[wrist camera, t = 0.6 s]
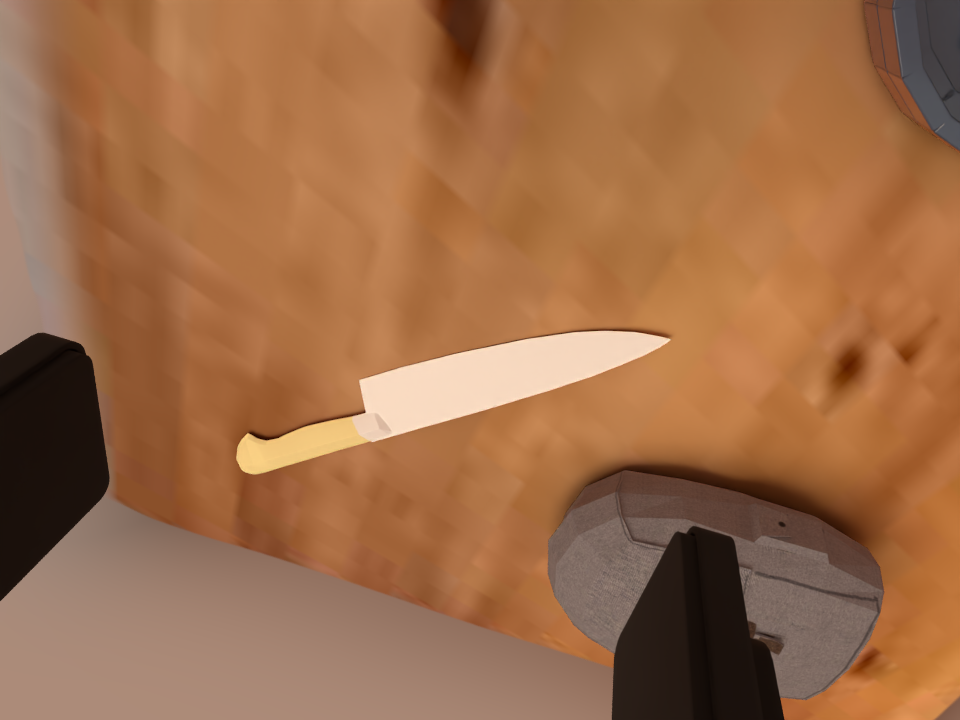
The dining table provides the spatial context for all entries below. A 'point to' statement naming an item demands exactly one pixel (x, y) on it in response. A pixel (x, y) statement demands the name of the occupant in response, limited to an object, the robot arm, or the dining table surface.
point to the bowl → (920, 60)
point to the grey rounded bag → (762, 563)
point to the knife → (452, 391)
